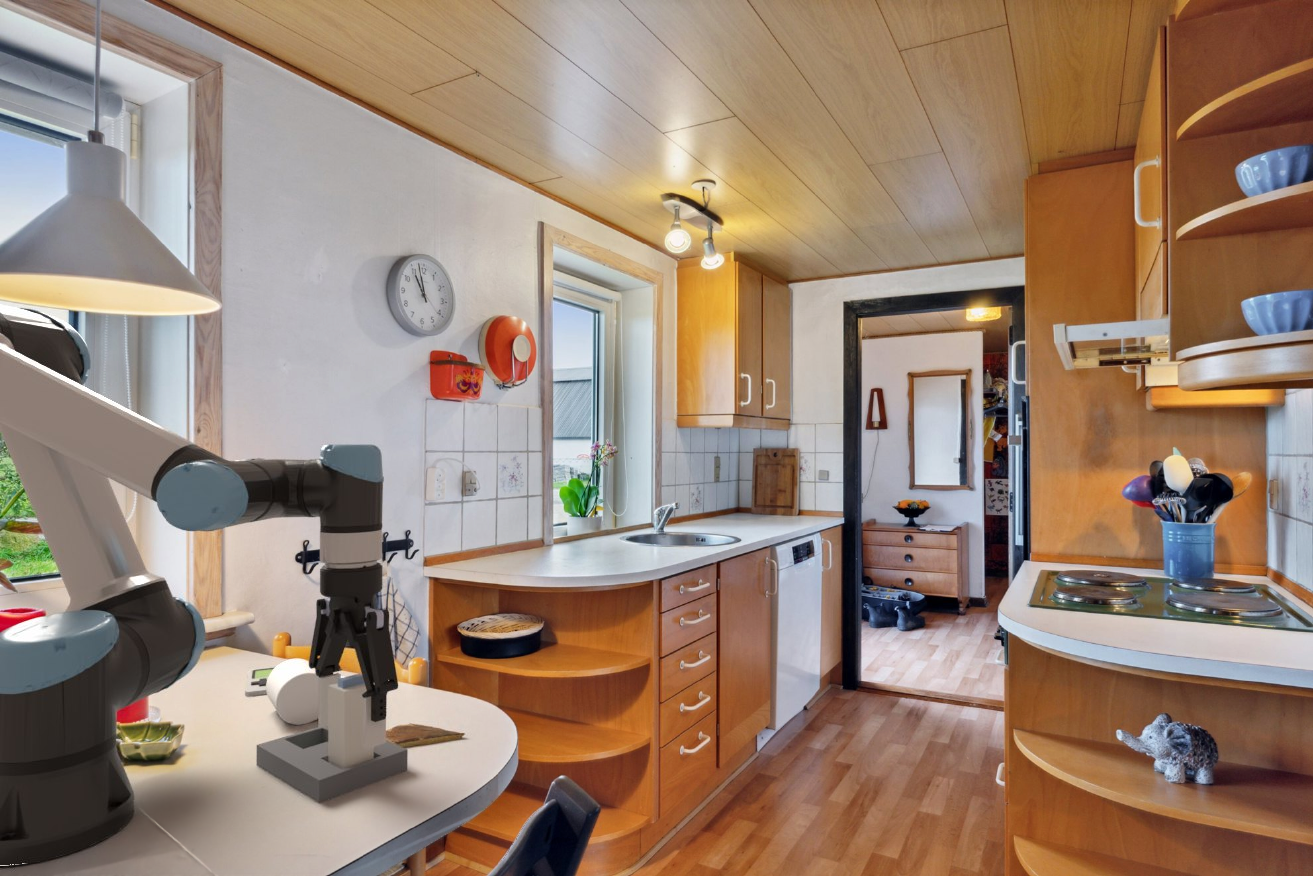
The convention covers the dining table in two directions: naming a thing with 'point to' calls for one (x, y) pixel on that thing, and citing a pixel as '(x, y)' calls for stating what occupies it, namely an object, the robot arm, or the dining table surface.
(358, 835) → the dining table surface
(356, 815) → the dining table surface
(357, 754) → the plug
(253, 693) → the handheld gaming console
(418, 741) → the shard
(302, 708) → the mug
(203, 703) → the dining table surface
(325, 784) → the panel
